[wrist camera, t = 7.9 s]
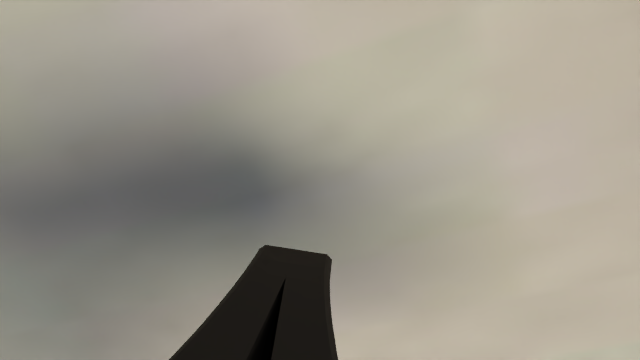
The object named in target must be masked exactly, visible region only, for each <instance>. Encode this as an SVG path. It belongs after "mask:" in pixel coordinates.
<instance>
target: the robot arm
mask: <svg viewBox="0 0 640 360" xmlns="http://www.w3.org/2000/svg"><path fill="white" fill-rule="evenodd" d="M331 264H332V259H331V258H330V257H329V256H328V255H327V254H321V253H314V252H308V251H301V250H295V249H288V248H282V247H275V246H269V245H265V246H263V247H262V248H260V249H259V251H258V252H257V254H256V255H255V257H254V258H253V260H252V261H251V263H250V264H249V266H248V267H247V269H246V270H245V271H244V273H243V274H242V276H241V277H240V278H239V280H238V281H237V282H236V283H235V285H234V286H233V287H232V289H231V290H230V291H229V293H228V294H227V295H226V296H225V298H224V299H223V300H222V301H221V302H220V304H219V305H218V306H217V307H216V308H215V310H214V311H213V312H212V313H211V314H210V315H209V317H208V318H207V319H206V320H205V321H204V323H203V324H202V325H201V326H200V327H199V328H198V329H197V331H196V332H195V333H194V334H193V335H192V336H191V337H190V338H189V339H188V340H187V341H186V342H185V343H184V344H183V345H182V347H181V348H180V349H179V350H178V351H177V352H176V353H175V354H174V355H173V356H172V357H171V358H170V359H169V360H338V357H337V351H336V345H335V338H334V332H333V325H332V317H331V305H330V273H331Z"/></svg>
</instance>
